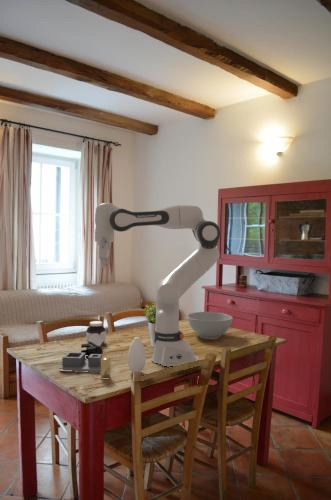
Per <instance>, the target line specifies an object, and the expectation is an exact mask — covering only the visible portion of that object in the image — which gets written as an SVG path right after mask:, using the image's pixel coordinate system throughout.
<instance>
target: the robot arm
mask: <svg viewBox="0 0 331 500" xmlns="http://www.w3.org/2000/svg"><path fill="white" fill-rule="evenodd" d="M94 213H95V214H94V215H95V216H94V223H95V224H94V225H95V230H94V242H95V243H96V242H97V246H98V259H99V260H100V263H101V269H104V270H105V269H106V267H107V266H108V258H109V257H110V252H111V246H112V243H113V242H115V231H116V232H120V233H121V232H128V231H130V230H131V229H132V228H134V227H145V226H146V227H148V226H155V227H160V228H164V229H169V230H182V229H183V230H184V229H190V230H191V231H192V233H193V237H194V239H195V240H196V241H197V242H199V245H198V246H197V248H196V249H195V251H193V252H192V253H191V254H190V255H189V256H188V257H187V258H185V259H184V260H183V261H181V262H180V264H178V266H176V268H175V269H174V270H173V271H171V273H170V274H168V275H167V276H166V277H163V278H161V279H160V280H159V281H158V282H157V285H156V291H155V293H156V299H155V300H156V302H155V330H154V332H153V333H154V334H153V335H154V336H153V342H154V347H153V351H152V352H153V354H152V356H151V362H152V361H153V362H152V363H154V364H156V363H158V364H157V365H160V364H161V365H160V366H162V365H163V366H162V367H164V366H167V368H168V367H169V368H171V367H170V366H174V365H178V364H182V363H186V362H190V361H196V360H199V361H200V359H199V357H198V356H197V355H195V350H194V348H193V345H192V344H190V343H188V342H187V341H186V340H185V339H184V337H185V335H184V332H183V331H180V330H179V329H180V298H181V297H182V296H183V295H185V293H186V292H187V291H189V289H190V288H191V287H192V286H193V285H194V284H195V283H196V282H197V281H199V279H200V278H202V277H203V276H204V275H205V274H207V273H208V271H209V270H210V269H211V268H212V267H213V266H214V265H215V264H216V262H218V260H219V259H220V251H219V249H218V247H217V246H218V243H219V240H220V237H221V228H220V227H219V225H218V224H217V223H216V222H214V221H210V220H206V219H205V218H204V214H203V213H204V212H203V211H202V209H201V208H200V207H199V206H197V205H187V204H182V205H181V204H180V205H179V204H178V205H171V206H170V205H169V206H166V207H163V208H159V209H157V210H152V211H151V210H150V211H130V210H127V209H125V208H120V207H118V206H116V205H114V203H111V202H103V203H100V204H98V205H97V206H96V208H95V212H94Z"/></svg>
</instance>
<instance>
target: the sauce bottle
mask: <svg viewBox="0 0 331 500" xmlns="http://www.w3.org/2000/svg"><path fill="white" fill-rule="evenodd" d="M146 355H147V353H146V349H145V346H144V344H143V342H142V340H141V338H140V337H139V336H138V331H137V332H136V336H135V337H134V338H133V340H132V341H131V344H130V345H129V349H128V352H127V366H128V368H129V370H130V371H131V372H132V371H134V370H140V371H141V372H142V371H144V368H145V365H146V360H147V356H146Z"/></svg>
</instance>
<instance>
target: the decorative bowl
mask: <svg viewBox="0 0 331 500" xmlns="http://www.w3.org/2000/svg"><path fill="white" fill-rule="evenodd" d="M186 318H187V321H188V324H189V327H191V329H192V331H193V332H194V333H196V335H198V337H199V338H201V339H205V340H217V339H219V338H221V336H223V334H225V333H226V332H227V331H228V330H229V329H230V327H231V325H232V323H233V320H234V317H233V316H232V315H230V314H228V313H227V314H226V313H223V312H215V311H214V312H213V311H198V312H192V313H188V314H187V317H186Z"/></svg>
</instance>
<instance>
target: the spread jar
mask: <svg viewBox="0 0 331 500" xmlns="http://www.w3.org/2000/svg"><path fill="white" fill-rule="evenodd" d="M85 332H86V334H85V339H86V343H89V342H93V343H95V344H96V345H98V346H100V347H101V346H102V345H103V344H102V343H105V342H106V338H107V337H106V335H107V332H106V328H105V327H104V326H103V321H101V320H94V321H90V322H89V326H88V327H87V329H86V331H85Z"/></svg>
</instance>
